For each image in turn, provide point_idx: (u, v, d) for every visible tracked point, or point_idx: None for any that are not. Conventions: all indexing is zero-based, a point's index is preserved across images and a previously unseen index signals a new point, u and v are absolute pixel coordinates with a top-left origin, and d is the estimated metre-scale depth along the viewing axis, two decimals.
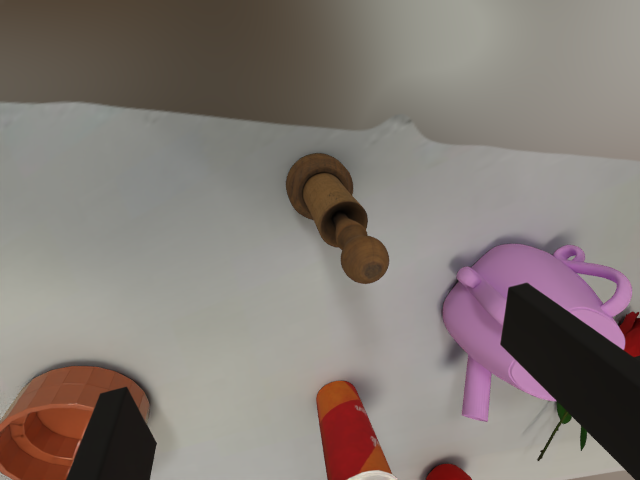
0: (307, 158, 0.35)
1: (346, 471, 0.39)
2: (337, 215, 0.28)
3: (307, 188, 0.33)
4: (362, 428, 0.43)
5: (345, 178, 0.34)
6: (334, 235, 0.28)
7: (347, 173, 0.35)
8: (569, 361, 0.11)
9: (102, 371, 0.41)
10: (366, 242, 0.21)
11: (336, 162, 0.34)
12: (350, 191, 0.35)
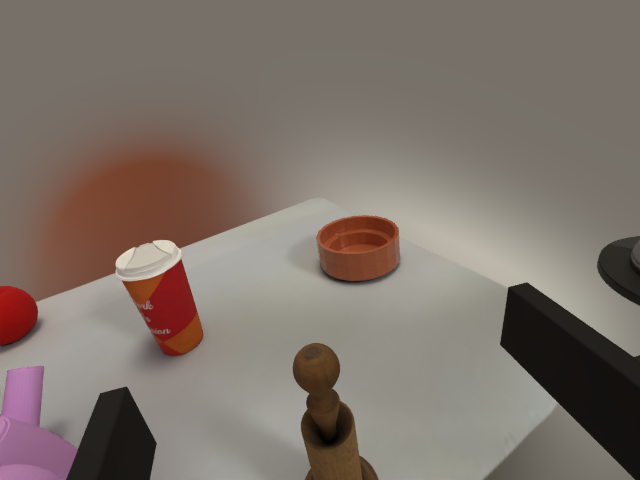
0: None
1: (174, 271, 0.45)
2: (336, 431, 0.26)
3: None
4: (161, 312, 0.46)
5: None
6: None
7: None
8: (569, 361, 0.11)
9: (371, 276, 0.58)
10: (331, 374, 0.22)
11: None
12: None
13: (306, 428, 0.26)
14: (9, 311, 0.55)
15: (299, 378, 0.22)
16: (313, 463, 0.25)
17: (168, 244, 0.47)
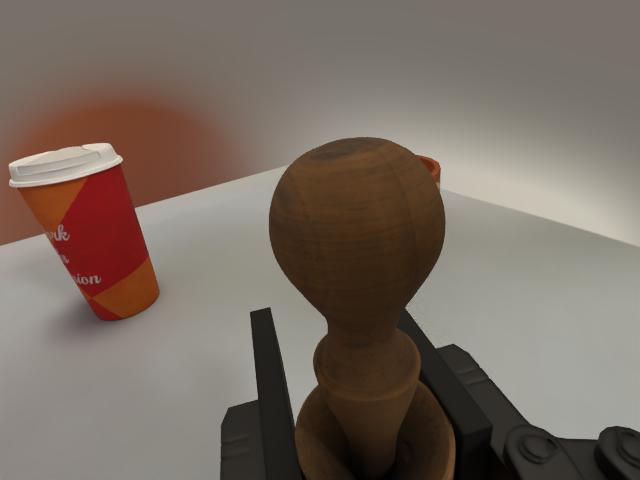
0: None
1: (105, 181, 0.29)
2: (395, 453, 0.09)
3: None
4: (84, 246, 0.29)
5: None
6: None
7: None
8: None
9: None
10: (426, 220, 0.05)
11: None
12: None
13: (310, 441, 0.09)
14: None
15: (290, 236, 0.05)
16: None
17: (102, 145, 0.31)
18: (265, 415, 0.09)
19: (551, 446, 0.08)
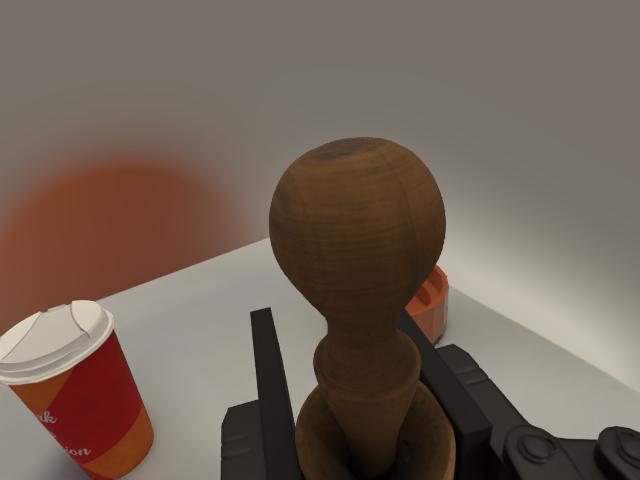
0: None
1: (94, 360, 0.27)
2: (395, 453, 0.09)
3: None
4: (72, 426, 0.27)
5: None
6: None
7: None
8: None
9: None
10: (427, 221, 0.05)
11: None
12: None
13: (310, 442, 0.09)
14: None
15: (291, 236, 0.05)
16: None
17: (92, 310, 0.29)
18: (265, 415, 0.09)
19: (551, 446, 0.08)
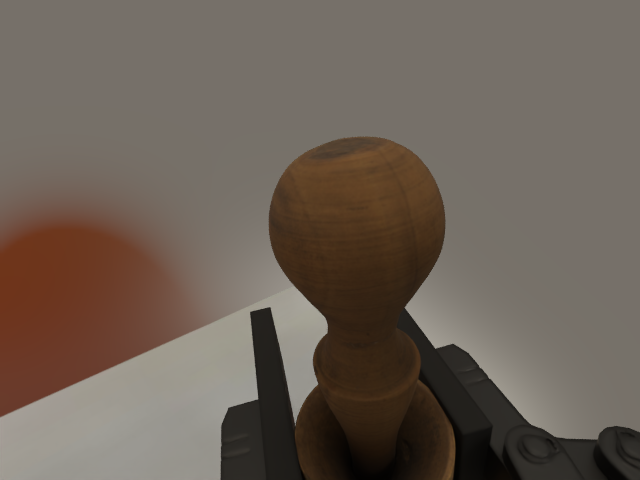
0: None
1: None
2: (395, 453, 0.09)
3: None
4: None
5: None
6: None
7: None
8: None
9: None
10: (426, 219, 0.05)
11: None
12: None
13: (310, 441, 0.09)
14: None
15: (291, 236, 0.05)
16: None
17: None
18: (265, 415, 0.09)
19: (551, 446, 0.08)
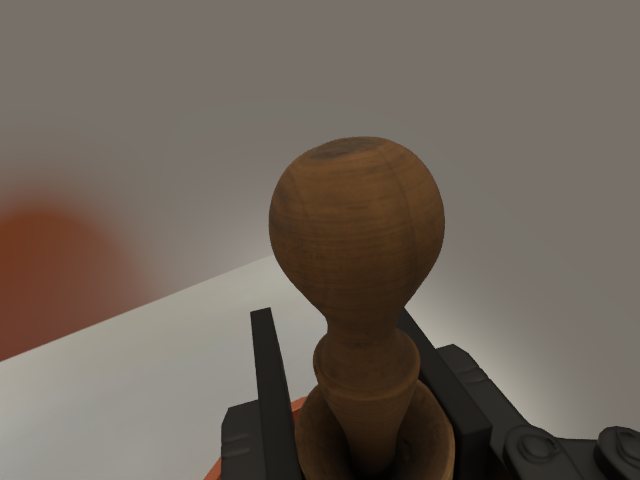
0: None
1: None
2: (395, 452, 0.09)
3: None
4: None
5: None
6: None
7: None
8: None
9: None
10: (426, 219, 0.05)
11: None
12: None
13: (310, 441, 0.09)
14: None
15: (290, 235, 0.05)
16: None
17: None
18: (265, 415, 0.09)
19: (550, 446, 0.08)
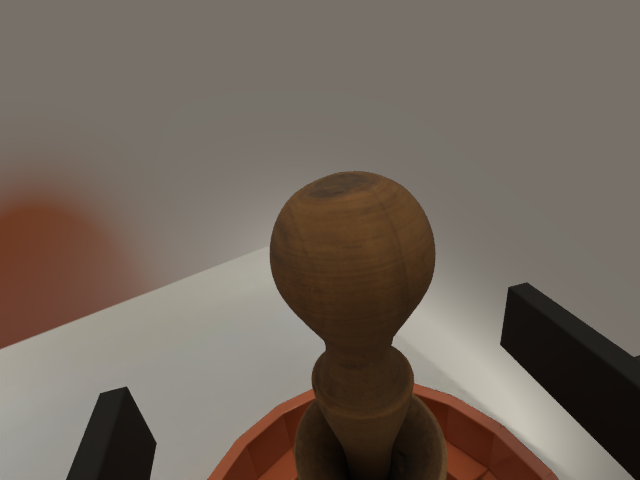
0: None
1: None
2: (390, 464, 0.09)
3: None
4: None
5: None
6: None
7: None
8: (569, 361, 0.10)
9: None
10: (416, 254, 0.05)
11: None
12: None
13: (308, 453, 0.09)
14: None
15: (290, 269, 0.06)
16: None
17: None
18: None
19: None
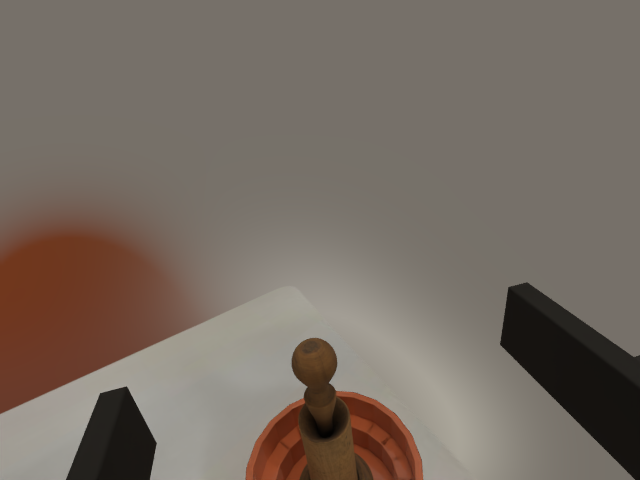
0: None
1: None
2: (332, 425, 0.26)
3: None
4: None
5: None
6: None
7: None
8: (569, 361, 0.11)
9: None
10: (328, 368, 0.23)
11: None
12: None
13: (303, 421, 0.26)
14: None
15: (297, 371, 0.23)
16: (309, 456, 0.26)
17: None
18: None
19: None
